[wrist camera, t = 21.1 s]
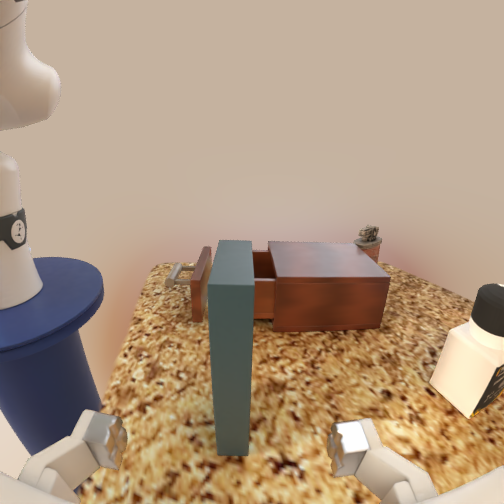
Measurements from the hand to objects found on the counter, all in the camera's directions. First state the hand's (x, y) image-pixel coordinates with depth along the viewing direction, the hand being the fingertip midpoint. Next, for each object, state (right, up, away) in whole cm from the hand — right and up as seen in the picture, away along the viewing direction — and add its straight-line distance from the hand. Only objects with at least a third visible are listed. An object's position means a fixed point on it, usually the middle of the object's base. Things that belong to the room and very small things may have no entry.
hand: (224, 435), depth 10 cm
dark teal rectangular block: (-1, -8, +14) cm, 16 cm away
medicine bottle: (+24, -8, +15) cm, 30 cm away
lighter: (+22, +2, +45) cm, 50 cm away
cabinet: (+11, -1, +35) cm, 37 cm away
